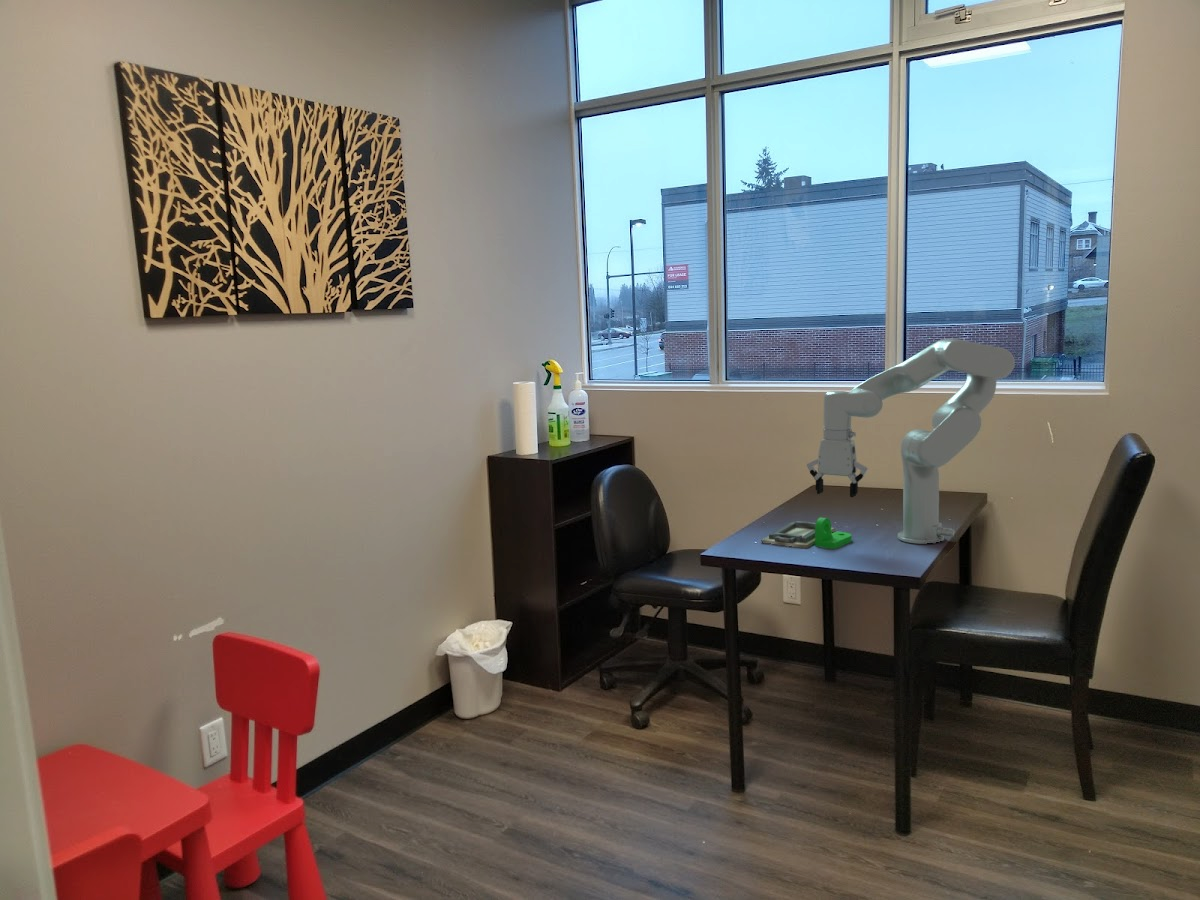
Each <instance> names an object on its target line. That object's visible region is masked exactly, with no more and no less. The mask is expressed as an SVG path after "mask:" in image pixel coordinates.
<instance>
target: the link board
mask: <svg viewBox="0 0 1200 900" xmlns="http://www.w3.org/2000/svg"><path fill="white" fill-rule="evenodd" d="M815 525H816V522H812V521H807V520H804V521H800V520H796V521H791V522H789V523H788V524H786V525H783V526H782V527H781V528H779V529H777V530H775V531H773V532H771V533H769V534H768V535H767V536H766V537H764V538H762V539H760V543H761V542H764V543H771V544H770V545H772V544H778V545H777V546H781V545H785V546H784V547H789V546H792V547H791V548H799V549H805V550H806V549H809V548H811V547H812V546H813V545H815ZM832 532H833V533H834V532H836V528H835V527H832V526H831V533H832Z"/></svg>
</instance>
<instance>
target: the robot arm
mask: <svg viewBox="0 0 1200 900" xmlns="http://www.w3.org/2000/svg"><path fill="white" fill-rule="evenodd" d="M1015 363H1016V361H1015V357H1014V355H1013V354H1012V352H1010V351H1009V349H1006V348H1003V347H999V346H994V345H989V344H985V343H984V344H983V343H977V342H973V341H968V340H964V339H959V338H944V339H943V338H942V339H939V340H937V341H935V342H934V343H932V344H930V345H929V346H927V347H925V348H924V349H922V350H921V351H918V353H915V354H914V355H913V356H911V357H910V358H907V359H906V360H904V361H902V362H901V363H898V364H897V365H894V366H892V367H890V368H888V369H886V370H884V371H882V372H880V373H878V374H876V375H874V376H871V377H870V378H867V380H865V381H863V382H862V383H860V384H858V385H856V386H855V387H854V388H852V389H851V390H849V392H848V391H844V390H831V391H827V392H826V393H825V394H824V395H823V431H822V433H823V436H822V437H823V438H822V439H821V440H820V444H819V449H818V456H817V459H815V460H813V461H811V462H808V463H807V464H806V467H807V469H808V471H809V474H810V475H811V476H812V477H813V478H814V480H815V491H816V494H817V495H820V494H822V493H823V492H824V478H823V476H824V475H827V476H828V475H829V476H837V477H838V476H841V477H848V479H849V480H850V481H851V483H849V498H855V497H856V496H857V494H858V493H859V491H858V489H859V487H858V486H859V484H858V483H859V482H860V481H861V480H862V479H863V478H864V477H865V475H866V474H867V472H868V470H869V469H868V467H867V466H865V465H864V464H862V463H860V462H859V461H857V449H856V444H855V440H854V439H852V438H856V436H857V433H856V431H853V429H852V417H857V418H867V419H869V418H874V417H875V416H878V414H880V413H881V410H882V409H883V400H886V399H887V398H891V397H893V396H896V395H899V394H904V393H910V392H914V391H916V390H918V389H920V388H922V387H923V386H925V385H926V384H928V383H930V382H932V381H933V380H935V379H937V378H938V377H940V376H942V375H944V374H945V373H947V372H948V371H955V372H959V373H964V374H966V378H965V382H964V384H963V385H962V386H961V388H959V389H958V390H957V391H956V393H954V394H953V395H952V396H951V397H950V398H949V399H948V400H946V401H945V402H944V403H943V404H942V405H940V407H939V408H938V409H937V410H936V411H935V412H934V413H933V415H932V418H931V424H932V427H933V430H927V429H924V428H923V429H922V428H916V429H911V430H910V431H908V432H907V433H906V434H905V435H904V437H903V439H902V440H901V445H900V456H901V463H902V473H903V474H902V476H903V478H902V479H903V480H902V481H903V486H902V487H903V489H902V492H903V493H902V494H903V495H902V497H903V500H902V502H903V503H902V507H903V508H902V509H903V510H902V513H903V514H902V517H903V518H902V521H903V523H902V525H903V526H902V530H901V531H899V532H898V533H897V539H898V540H899V541H901V542H905V543H909V544H918V545H928V544H927V543H933V544H937V543H936V542H939V543H941V542H940V541H942V542H943V541H945V537H952V538H953V537H955V530H954V529H953V528H948V527H944V526H942V522H939V521H940V520H939V517H940V515H939V513H940V510H939V509H940V506H939V505H940V474H939V468H941V467H943V466H945V465H946V464H948V463H949V462H950V461H952V459H954V457H956V456H957V455H958V454H959V453H961V452H962V450H964V449H965V448H966V447H967V446H968V445H969V444H970V443H971V442H972V441H973V440H974V439H975V438H976V437H977V435H978V434H979V432H980V431H981V427H982V418H981V415H980V413H982V412H983V410H985V408H987V406H988V405H989V404H990V403H991V402H992V400H993V398H994V397H995V394H996V391H997V390H996V388H997V380H1001V379H1003V378H1006V377H1008V376H1009V375H1010V374H1011V373H1012V372H1013V370H1014V368H1015V365H1016V364H1015ZM816 465H817V470H816V469H815V466H816ZM857 469H858V470H859V471H860V472H859V474H856V473H857Z"/></svg>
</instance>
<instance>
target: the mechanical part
mask: <svg viewBox="0 0 1200 900" xmlns="http://www.w3.org/2000/svg"><path fill="white" fill-rule="evenodd" d="M815 523H816V525H815V544H814V545H815V547H819V548H825V549H831V550H835V549H838V548H841V547H843V546H845V545H847V544H849V542H850V543H852V541H853V540H852V539H853V538H852V534H851V533H850V532H849V533H848V532H844V531H837V530H835V531H834V532H833V533H831V527H832V522H831V520H830V518H828V517H818V519H817V520H816V522H815ZM842 545H843V546H842Z"/></svg>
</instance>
